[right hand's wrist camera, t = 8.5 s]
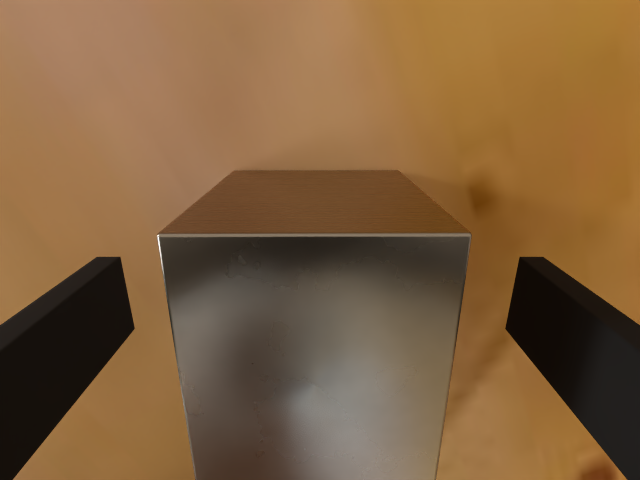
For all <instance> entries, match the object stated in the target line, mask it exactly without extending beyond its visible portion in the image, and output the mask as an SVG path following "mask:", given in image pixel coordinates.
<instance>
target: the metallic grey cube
mask: <svg viewBox="0 0 640 480" xmlns="http://www.w3.org/2000/svg"><path fill="white" fill-rule="evenodd" d="M471 237H472V235H471V233H470V232H469V231H468V230H467V229H466V228H464V227H463V226H462V225H461V224H460V223H459V222H458V221H456V220H455V219H454V218H453V217H452V216H451V215H449V214H448V213H447V212H446V211H445V210H444V209H442V208H441V207H440V206H439V205H438V204H437V203H435V202H434V201H433V200H432V199H431V198H430V197H429V196H427V195H426V194H425V193H424V192H423V191H422V190H420V189H419V188H418V187H417V186H416V185H415V184H413V183H412V182H411V181H410V180H409V179H408V178H407V177H405V176H404V175H403V174H402V173H401V172H400V171H233V172H231V173H230V174H229V175H228V176H227V177H225V178H224V179H223V180H222V181H221V182H219V183H218V184H217V185H216V186H215V187H213V188H212V189H211V190H210V191H209V192H207V193H206V194H205V195H204V196H203V197H201V198H200V199H199V200H198V201H197V202H195V203H194V204H193V205H192V206H191V207H189V208H188V209H187V210H186V211H184V212H183V213H182V214H181V215H180V216H178V217H177V218H176V219H175V220H174V221H172V222H171V223H170V224H169V225H168V226H166V227H165V228H164V229H163V230H162V231H160V232H159V233H158V235H157V239H158V245H159V252H160V258H161V264H162V271H163V277H164V283H165V290H166V296H167V302H168V309H169V315H170V321H171V328H172V334H173V340H174V347H175V353H176V359H177V366H178V372H179V378H180V385H181V391H182V397H183V404H184V410H185V416H186V423H187V429H188V435H189V442H190V448H191V455H192V461H193V467H194V474H195V480H436V475H437V468H438V462H439V455H440V448H441V441H442V434H443V428H444V421H445V414H446V407H447V400H448V393H449V387H450V380H451V373H452V366H453V359H454V353H455V346H456V339H457V332H458V325H459V318H460V312H461V305H462V298H463V291H464V284H465V278H466V271H467V264H468V257H469V250H470V244H471Z"/></svg>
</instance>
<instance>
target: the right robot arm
mask: <svg viewBox="0 0 640 480" xmlns="http://www.w3.org/2000/svg"><path fill="white" fill-rule="evenodd" d="M134 329H135V328H134V323H133V318H132V313H131V308H130V303H129V298H128V293H127V288H126V283H125V278H124V273H123V268H122V263H121V258H120V257H96V258H95V259H93V260H92V261H91V262H89V263H88V264H86V265H85V266H83V267H82V268H81V269H79V270H78V271H76V272H75V273H74V274H72V275H71V276H69V277H68V278H66V279H65V280H64V281H62V282H61V283H59V284H58V285H57V286H55V287H54V288H52V289H51V290H49V291H48V292H47V293H45V294H44V295H42V296H41V297H40V298H38V299H37V300H35V301H34V302H32V303H31V304H30V305H28V306H27V307H25V308H24V309H23V310H21V311H20V312H18V313H17V314H15V315H14V316H13V317H11V318H10V319H8V320H7V321H6V322H4V323H3V324H1V325H0V480H13V479H14V477H15V476H16V475H17V474H18V472H19V471H20V470H21V469H22V467H23V466H24V465H25V464H26V462H27V461H28V460H29V459H30V458H31V456H32V455H33V454H34V453H35V451H36V450H37V449H38V448H39V446H40V445H41V444H42V443H43V441H44V440H45V439H46V438H47V436H48V435H49V434H50V433H51V432H52V430H53V429H54V428H55V427H56V425H57V424H58V423H59V422H60V420H61V419H62V418H63V417H64V415H65V414H66V413H67V412H68V411H69V409H70V408H71V407H72V406H73V404H74V403H75V402H76V401H77V399H78V398H79V397H80V396H81V394H82V393H83V392H84V391H85V389H86V388H87V387H88V386H89V385H90V383H91V382H92V381H93V380H94V378H95V377H96V376H97V375H98V373H99V372H100V371H101V370H102V368H103V367H104V366H105V365H106V364H107V362H108V361H109V360H110V359H111V357H112V356H113V355H114V354H115V352H116V351H117V350H118V349H119V347H120V346H121V345H122V344H123V343H124V341H125V340H126V339H127V338H128V336H129V335H130V334H131V333H132V331H133V330H134ZM505 329H506V330H507V331H508V333H509V334H510V335H511V336H512V338H513V339H514V340H515V341H516V343H517V344H518V345H519V346H520V347H521V349H522V350H523V351H524V352H525V354H526V355H527V356H528V357H529V359H530V360H531V361H532V362H533V364H534V365H535V366H536V367H537V368H538V370H539V371H540V372H541V373H542V375H543V376H544V377H545V378H546V380H547V381H548V382H549V383H550V385H551V386H552V387H553V388H554V389H555V391H556V392H557V393H558V394H559V396H560V397H561V398H562V399H563V401H564V402H565V403H566V404H567V406H568V407H569V408H570V409H571V411H572V412H573V413H574V414H575V415H576V417H577V418H578V419H579V420H580V422H581V423H582V424H583V425H584V427H585V428H586V429H587V430H588V432H589V433H590V434H591V435H592V436H593V438H594V439H595V440H596V441H597V443H598V444H599V445H600V446H601V448H602V449H603V450H604V451H605V453H606V454H607V455H608V456H609V458H610V459H611V460H612V461H613V462H614V464H615V465H616V466H617V467H618V469H619V470H620V471H621V472H622V474H623V475H624V476H625V477H626V479H627V480H640V325H639V324H637V323H636V322H634V321H633V320H632V319H630V318H629V317H627V316H626V315H625V314H623V313H622V312H620V311H619V310H617V309H616V308H615V307H613V306H612V305H610V304H609V303H608V302H606V301H605V300H603V299H602V298H600V297H599V296H598V295H596V294H595V293H593V292H592V291H591V290H589V289H588V288H586V287H585V286H583V285H582V284H581V283H579V282H578V281H576V280H575V279H574V278H572V277H571V276H569V275H568V274H566V273H565V272H564V271H562V270H561V269H559V268H558V267H557V266H555V265H554V264H552V263H551V262H549V261H548V260H547V259H545V258H544V257H520V258H519V263H518V268H517V273H516V278H515V283H514V288H513V293H512V298H511V303H510V308H509V313H508V318H507V323H506V328H505Z"/></svg>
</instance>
